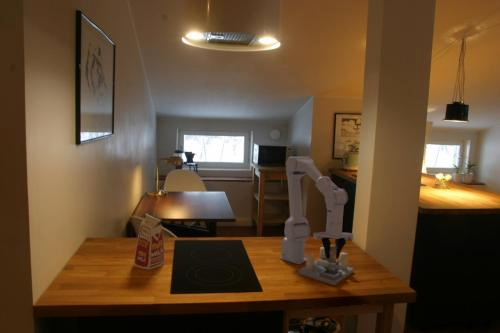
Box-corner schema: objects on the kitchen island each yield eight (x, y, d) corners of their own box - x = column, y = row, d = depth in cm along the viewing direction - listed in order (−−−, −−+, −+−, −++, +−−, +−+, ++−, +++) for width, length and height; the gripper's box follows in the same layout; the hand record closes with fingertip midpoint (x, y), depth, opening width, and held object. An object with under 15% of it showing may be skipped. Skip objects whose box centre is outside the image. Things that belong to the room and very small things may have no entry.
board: (298, 273, 143) (299, 254, 142) (319, 261, 156) (320, 244, 155) (334, 285, 133) (335, 265, 132) (353, 272, 146) (354, 253, 146)
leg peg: (328, 263, 135) (329, 247, 134) (326, 260, 138) (327, 244, 137) (336, 263, 135) (338, 247, 135) (334, 260, 138) (335, 244, 138)
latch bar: (341, 267, 141) (341, 263, 141) (339, 270, 139) (340, 265, 139) (318, 263, 145) (318, 258, 145) (316, 265, 143) (316, 260, 143)
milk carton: (133, 265, 143) (133, 215, 140) (149, 258, 151) (150, 210, 149) (150, 270, 138) (151, 219, 136) (167, 263, 147) (168, 214, 144)
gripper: (318, 224, 130) (315, 261, 132) (357, 225, 132) (354, 261, 133) (312, 219, 137) (310, 254, 139) (350, 220, 139) (347, 254, 140)
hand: (331, 257), depth 137 cm, fingers closed on leg peg, 3 cm apart
